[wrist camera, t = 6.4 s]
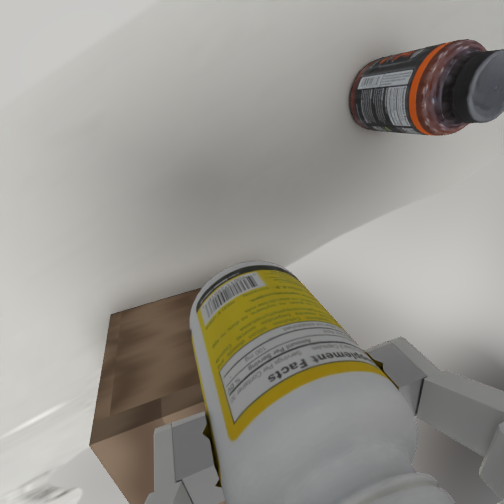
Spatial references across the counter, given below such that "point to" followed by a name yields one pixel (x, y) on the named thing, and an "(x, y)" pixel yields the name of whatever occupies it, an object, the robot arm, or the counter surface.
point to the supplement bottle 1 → (298, 399)
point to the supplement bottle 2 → (430, 89)
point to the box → (144, 389)
